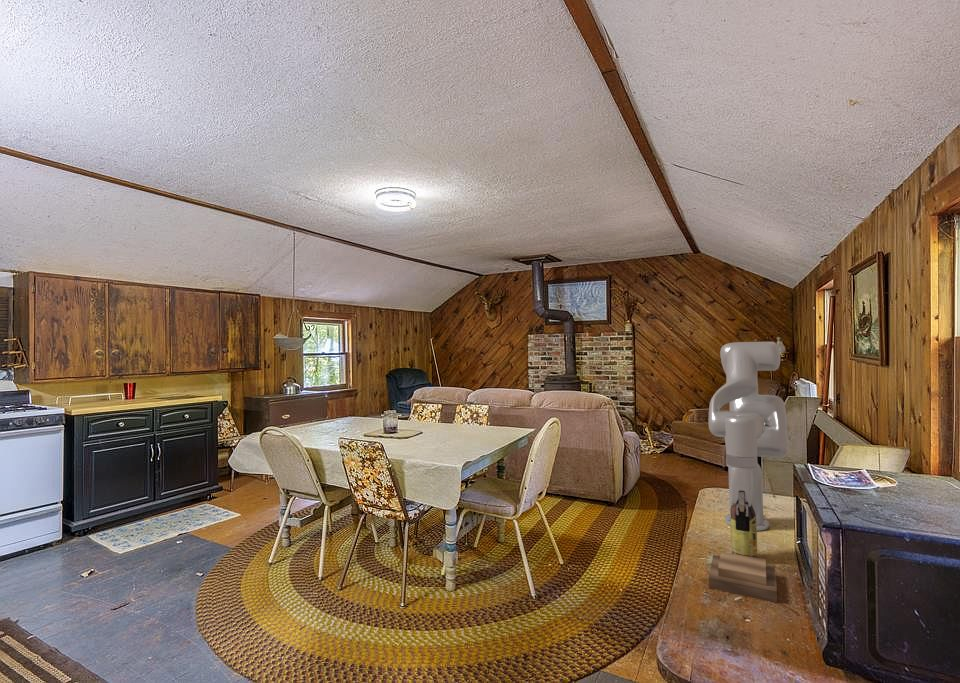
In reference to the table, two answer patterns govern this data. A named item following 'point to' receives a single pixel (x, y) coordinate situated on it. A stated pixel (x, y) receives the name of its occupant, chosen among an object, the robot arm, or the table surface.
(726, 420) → the robot arm
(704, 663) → the table surface
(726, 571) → the pedestal
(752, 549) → the sauce bottle
